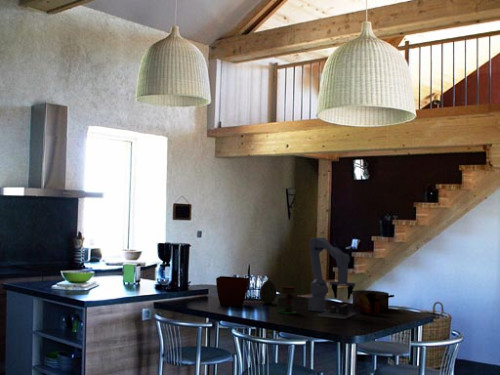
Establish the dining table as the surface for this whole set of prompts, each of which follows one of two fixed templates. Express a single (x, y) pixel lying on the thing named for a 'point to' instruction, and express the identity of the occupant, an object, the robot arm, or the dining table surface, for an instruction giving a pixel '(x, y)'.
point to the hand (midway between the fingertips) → (342, 298)
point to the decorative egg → (268, 292)
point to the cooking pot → (380, 295)
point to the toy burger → (286, 300)
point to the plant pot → (232, 290)
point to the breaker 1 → (342, 309)
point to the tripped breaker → (333, 310)
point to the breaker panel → (337, 314)
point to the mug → (368, 304)
